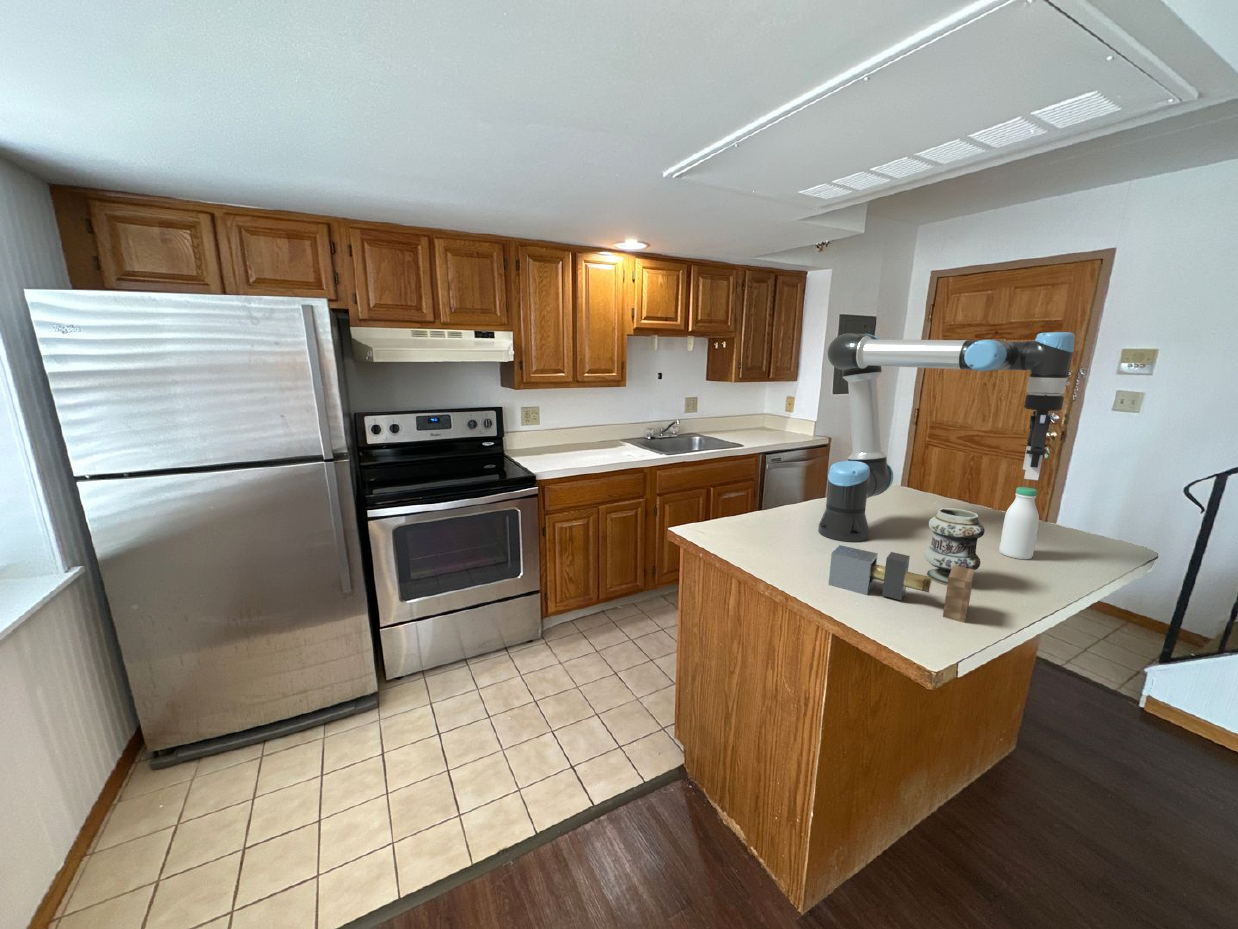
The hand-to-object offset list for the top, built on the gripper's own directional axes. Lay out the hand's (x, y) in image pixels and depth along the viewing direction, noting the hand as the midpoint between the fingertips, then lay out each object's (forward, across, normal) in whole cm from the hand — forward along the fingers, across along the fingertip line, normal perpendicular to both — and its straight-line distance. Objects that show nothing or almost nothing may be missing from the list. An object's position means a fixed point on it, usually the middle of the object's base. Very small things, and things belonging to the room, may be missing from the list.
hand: (1029, 474), depth 130 cm
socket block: (+26, -42, +11) cm, 50 cm away
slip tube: (+25, -41, +26) cm, 55 cm away
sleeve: (+26, -41, +33) cm, 58 cm away
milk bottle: (+26, +9, -1) cm, 27 cm away
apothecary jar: (+26, -22, +13) cm, 36 cm away
